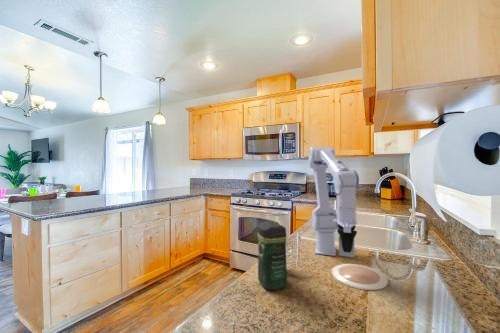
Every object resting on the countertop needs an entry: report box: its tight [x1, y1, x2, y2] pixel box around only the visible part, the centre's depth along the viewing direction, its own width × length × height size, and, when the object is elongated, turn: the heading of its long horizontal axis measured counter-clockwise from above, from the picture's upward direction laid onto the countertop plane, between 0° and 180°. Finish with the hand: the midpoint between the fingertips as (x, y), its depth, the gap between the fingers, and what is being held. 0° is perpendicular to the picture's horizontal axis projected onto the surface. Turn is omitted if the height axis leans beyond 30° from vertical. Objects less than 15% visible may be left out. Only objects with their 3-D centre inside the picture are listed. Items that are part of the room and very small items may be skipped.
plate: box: [331, 263, 389, 291], centre depth 72 cm, size 16×16×1 cm
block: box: [338, 234, 355, 258], centre depth 74 cm, size 4×4×6 cm
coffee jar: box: [257, 220, 288, 291], centre depth 69 cm, size 10×8×19 cm
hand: (346, 249), depth 74 cm, fingers closed on block, 4 cm apart
